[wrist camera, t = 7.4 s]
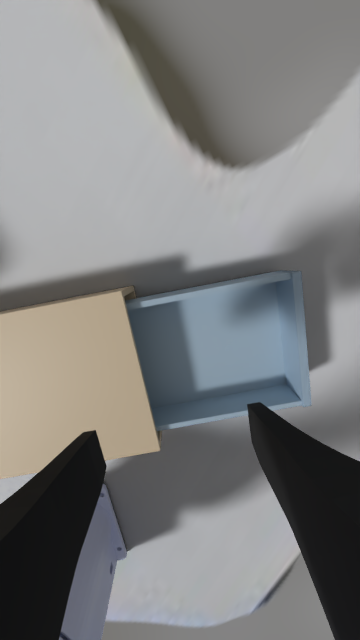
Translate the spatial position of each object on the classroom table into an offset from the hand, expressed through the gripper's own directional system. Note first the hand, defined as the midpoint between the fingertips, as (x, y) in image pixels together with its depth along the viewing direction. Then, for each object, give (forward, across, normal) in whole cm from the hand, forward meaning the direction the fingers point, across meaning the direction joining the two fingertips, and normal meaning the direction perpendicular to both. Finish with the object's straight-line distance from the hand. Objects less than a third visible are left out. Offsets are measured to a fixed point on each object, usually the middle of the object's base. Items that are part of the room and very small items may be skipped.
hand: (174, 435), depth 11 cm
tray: (+10, -1, -1) cm, 10 cm away
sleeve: (+10, +11, -1) cm, 15 cm away
